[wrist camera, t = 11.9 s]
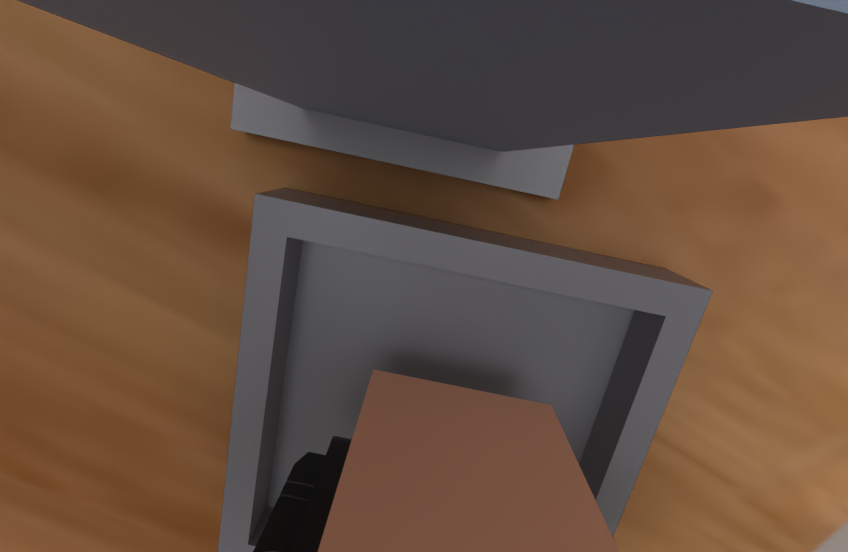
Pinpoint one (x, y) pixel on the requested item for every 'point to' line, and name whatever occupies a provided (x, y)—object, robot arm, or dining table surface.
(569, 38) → the block
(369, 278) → the tray
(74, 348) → the dining table surface
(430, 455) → the terracotta block
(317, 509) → the robot arm
